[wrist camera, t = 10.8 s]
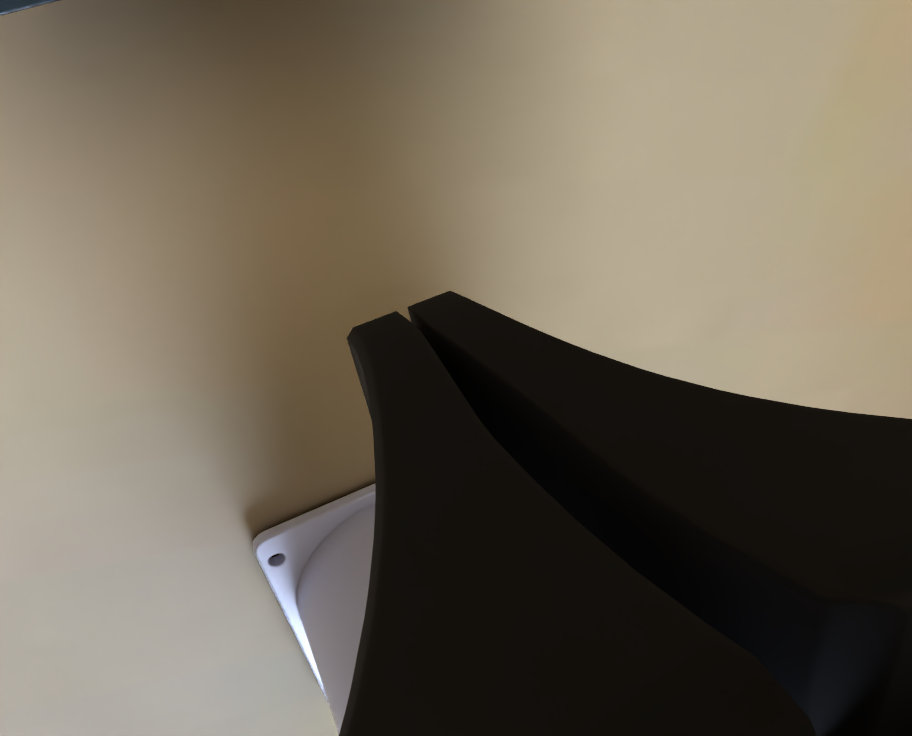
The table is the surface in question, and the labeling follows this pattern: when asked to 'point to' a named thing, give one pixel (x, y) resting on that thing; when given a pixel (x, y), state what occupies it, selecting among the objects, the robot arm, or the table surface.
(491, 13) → the table surface
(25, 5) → the bin
